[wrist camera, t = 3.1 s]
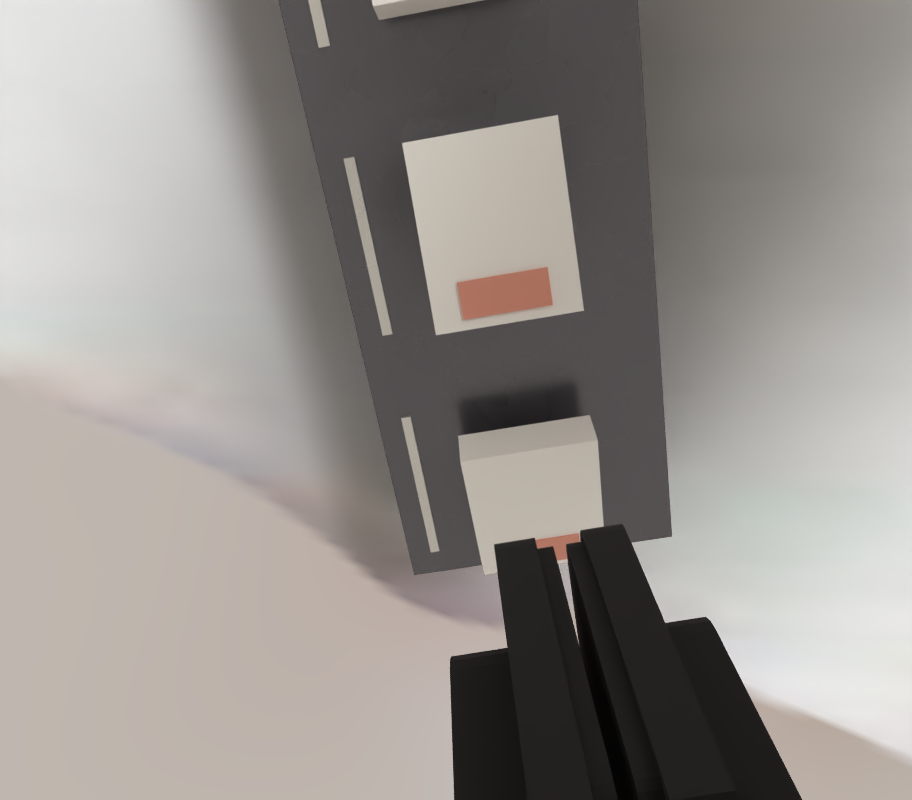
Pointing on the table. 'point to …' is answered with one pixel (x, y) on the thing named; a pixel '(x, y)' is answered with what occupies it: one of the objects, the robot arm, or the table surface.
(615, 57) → the power strip
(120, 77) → the table surface
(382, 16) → the block
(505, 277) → the plate
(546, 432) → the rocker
